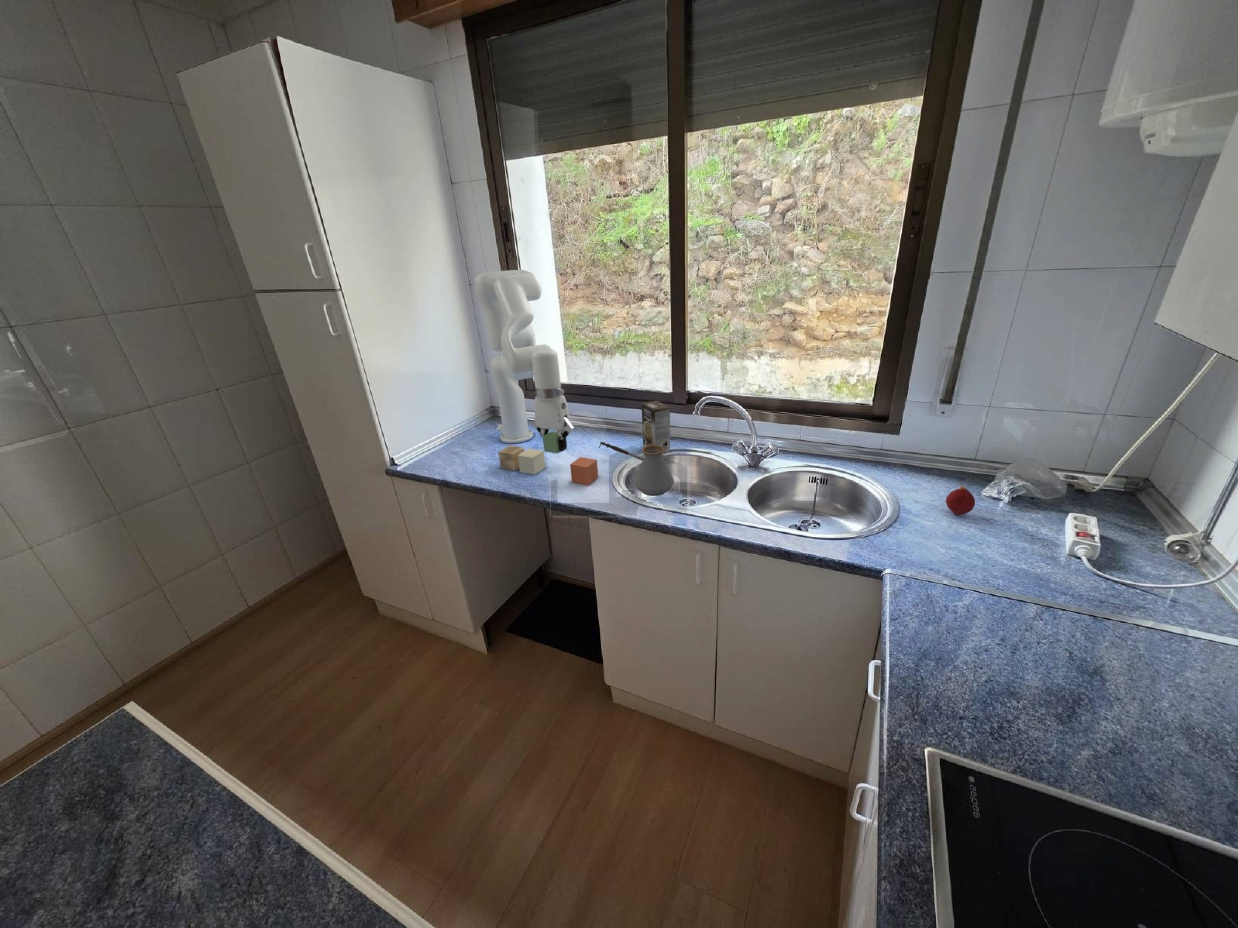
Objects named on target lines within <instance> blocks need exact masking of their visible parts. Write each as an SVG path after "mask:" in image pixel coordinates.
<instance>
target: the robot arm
mask: <svg viewBox="0 0 1238 928" xmlns="http://www.w3.org/2000/svg"><path fill="white" fill-rule="evenodd" d="M474 291H475V294H476V296H477V299H478V301H479V303H480V305H481V307H482V308H483V311H484V312H483V313H484V315H485V321H486V327H487V332H488V339H489V342H490V346H491V348H492V350H493V351H494V352H499V353H500V352H502V354H503V355H498V356H496V357H494V358H492V360H491V361H490V364H489V366H490V368H489V369H490V373H491V376H492V378H493V382H494V386H495V389H496V395H497V400H498V407H499V413H500V418H501V419H500V421H501V423H500V424H498V425H497V428H496V429H495V430H496V431H497V432H501V435H499V439H500V441H501V442H503V443H505V444H519V443H523V442H527V441H530V440H531V439H532V438H534V431H533V430H530V428H529V423H528V422H529V421H528V416H527V408H526V402H525V395H524V391H523V389H522V388H521V386H519V385H518V384H517V383H516V382H517V381H522V380H526V379H532V378H533V381H534V388H535V395H536V396H535V397H534V420H533V422H532V424H531V425H532V427H534V428H535V429H536V431H537V432H538V433H539V435H540V437H541V438H543V436H544V435H546V434H548V433H549V432H550V431H556V432H557V433H558V435H559V438H560V439H559V440H558V442H559V451H560V452H559V453H561V452H564V451H566V450H567V447H568V443H567V438H568V436H569V435H570V434H571V432H573V431H574V430H575V427H574V425H573V423H571V416H570V410H569V406H568V403H567V400H566V397H565V395H564V394H565V389H563V388H562V384H561V376H560V375H561V374H560V363H559V356H558V352H557V350H555V349H552V348H551V346H549V345H547V344H537V341H536V334H535V331H534V328H533V326H532V325H531V324H532V323H533V320H534V313H533V310H532V308H531V306H530V303H529V302H532V301H533V302H534V301H538V300H539V299H540V298H541V296H542V285H541V282H540V280H539V278H538V277H537V276H536V274H535V273H533V272H531V271H528V270H524V269H509V270H508V269H507V270H497V271H496V270H495V271H487V272H482V273H478V274H477V275H476V276H475V278H474ZM562 433H563V434H562ZM542 445H543V446H544V444H543V443H542Z"/></svg>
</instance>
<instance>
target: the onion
mask: <svg viewBox="0 0 1238 928" xmlns="http://www.w3.org/2000/svg"><path fill="white" fill-rule="evenodd" d="M945 505H946V507H947V508H948V509H949V511H950V512H951V513H952V514H953V515H955V516H961V515H966V514H968V513H971V512H972V511H973V509H974V507H975V505H976V499H975V496H974V495H973V493H972V492H970V490H968V488H966V486H964V485H961V486H960V488H957V489H954V490H952V491H950V492H949V493H948V494H947V497H946V498H945Z"/></svg>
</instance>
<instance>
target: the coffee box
mask: <svg viewBox="0 0 1238 928" xmlns="http://www.w3.org/2000/svg"><path fill="white" fill-rule="evenodd" d="M640 405H641V426H642V427H641V428H642V446H643V447H642V448H644V447H646V446H650V445H658V446H661V447H663V448H664V449H665V451H664V452H663V454H665V453H669V452H671V407H670V406H668V405H667V404H664V403H663V402H660V401H659V400H654V401H647V402H646V401H645V402H642V403H641V404H640Z"/></svg>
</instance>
